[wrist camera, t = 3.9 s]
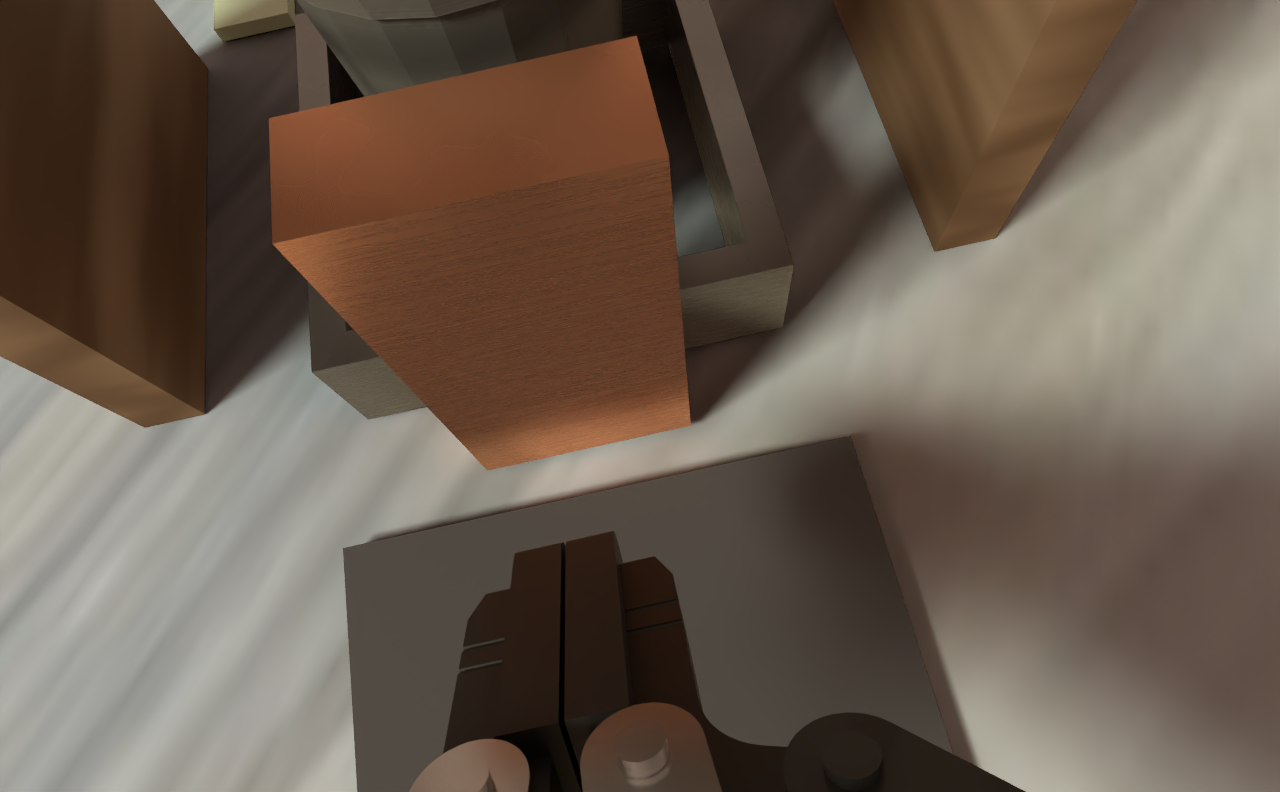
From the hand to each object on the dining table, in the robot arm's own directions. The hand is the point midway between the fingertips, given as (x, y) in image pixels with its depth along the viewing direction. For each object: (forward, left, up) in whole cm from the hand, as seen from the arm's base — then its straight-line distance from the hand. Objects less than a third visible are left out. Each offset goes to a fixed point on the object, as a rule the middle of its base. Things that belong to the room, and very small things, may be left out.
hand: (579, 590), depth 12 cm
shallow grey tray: (0, -11, -6) cm, 12 cm away
